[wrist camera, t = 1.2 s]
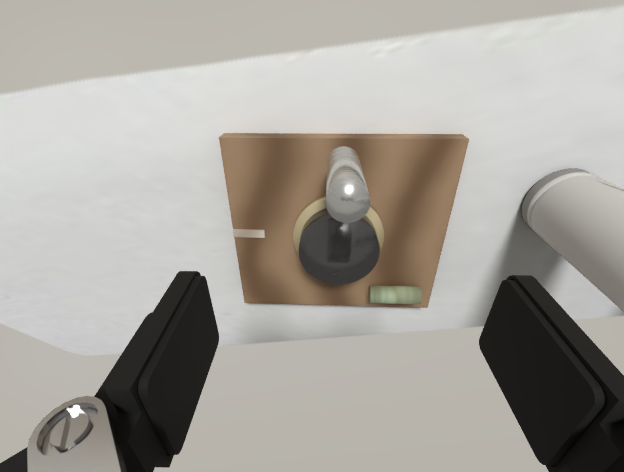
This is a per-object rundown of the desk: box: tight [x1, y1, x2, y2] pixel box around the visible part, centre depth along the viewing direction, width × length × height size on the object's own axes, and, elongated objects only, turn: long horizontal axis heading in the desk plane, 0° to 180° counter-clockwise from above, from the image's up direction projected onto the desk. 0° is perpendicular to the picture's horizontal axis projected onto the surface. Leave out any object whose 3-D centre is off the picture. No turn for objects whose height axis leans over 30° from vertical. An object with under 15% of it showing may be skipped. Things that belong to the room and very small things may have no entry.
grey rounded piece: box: [299, 146, 380, 284], centre depth 24 cm, size 7×13×9 cm, turn 0°
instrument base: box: [219, 133, 469, 308], centre depth 30 cm, size 20×18×3 cm
